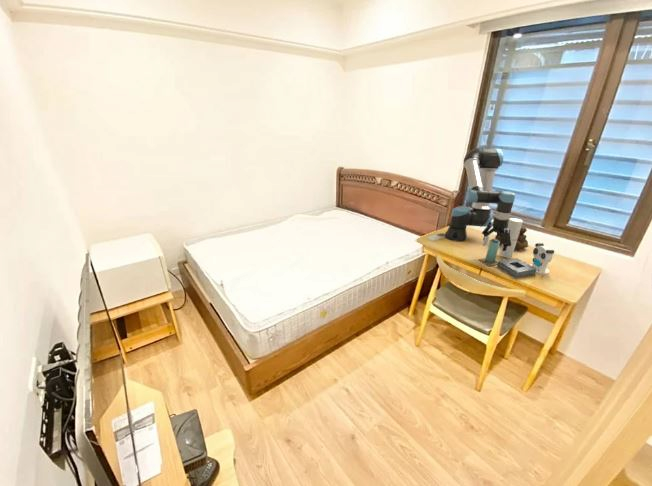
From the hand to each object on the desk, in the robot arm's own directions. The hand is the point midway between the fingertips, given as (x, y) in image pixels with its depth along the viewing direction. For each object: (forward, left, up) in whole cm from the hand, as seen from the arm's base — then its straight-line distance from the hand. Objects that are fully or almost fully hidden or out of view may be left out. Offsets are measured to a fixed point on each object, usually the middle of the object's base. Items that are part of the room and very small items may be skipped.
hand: (492, 250), depth 183 cm
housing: (+13, +7, -8) cm, 17 cm away
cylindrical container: (-5, +18, -9) cm, 21 cm away
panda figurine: (+15, +22, -9) cm, 28 cm away
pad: (0, 0, -8) cm, 8 cm away
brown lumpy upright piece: (-16, +32, -9) cm, 37 cm away
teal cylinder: (0, 0, -8) cm, 8 cm away
